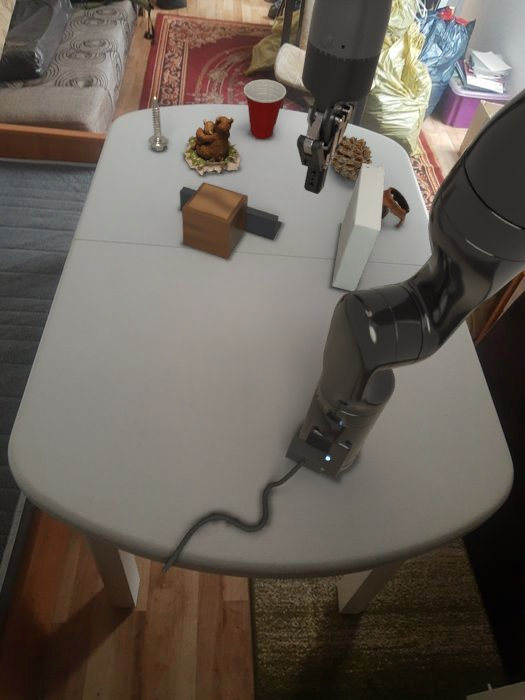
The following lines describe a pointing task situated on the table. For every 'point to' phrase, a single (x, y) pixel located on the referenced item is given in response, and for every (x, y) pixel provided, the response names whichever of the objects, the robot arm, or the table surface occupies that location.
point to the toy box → (214, 219)
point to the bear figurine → (213, 147)
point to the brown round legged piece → (394, 204)
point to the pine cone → (351, 157)
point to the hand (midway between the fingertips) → (313, 189)
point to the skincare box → (359, 227)
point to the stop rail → (255, 218)
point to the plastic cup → (263, 106)
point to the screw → (157, 129)
